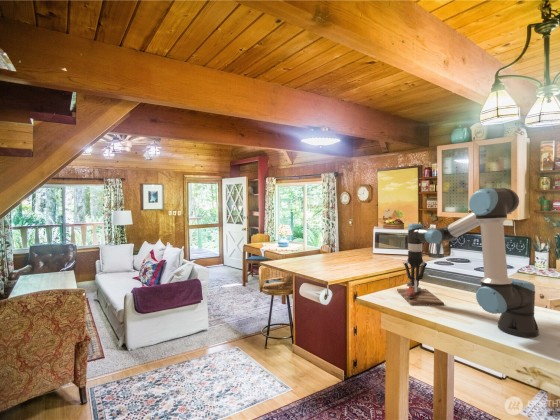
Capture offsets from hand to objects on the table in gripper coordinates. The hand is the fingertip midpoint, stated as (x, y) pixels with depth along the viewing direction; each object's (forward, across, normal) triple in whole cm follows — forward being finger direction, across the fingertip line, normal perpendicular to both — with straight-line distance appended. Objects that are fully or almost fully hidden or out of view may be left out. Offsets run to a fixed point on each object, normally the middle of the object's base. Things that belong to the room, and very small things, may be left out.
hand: (415, 291), depth 190 cm
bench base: (+6, -4, -7) cm, 10 cm away
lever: (+4, -1, -7) cm, 8 cm away
